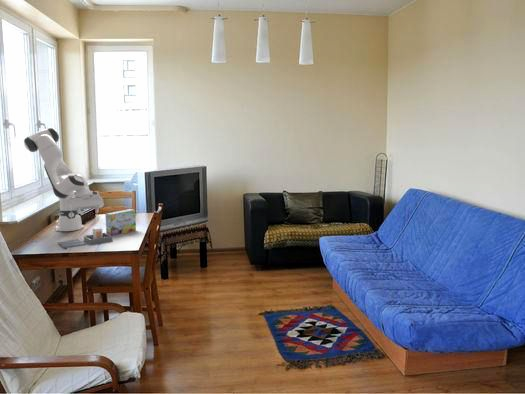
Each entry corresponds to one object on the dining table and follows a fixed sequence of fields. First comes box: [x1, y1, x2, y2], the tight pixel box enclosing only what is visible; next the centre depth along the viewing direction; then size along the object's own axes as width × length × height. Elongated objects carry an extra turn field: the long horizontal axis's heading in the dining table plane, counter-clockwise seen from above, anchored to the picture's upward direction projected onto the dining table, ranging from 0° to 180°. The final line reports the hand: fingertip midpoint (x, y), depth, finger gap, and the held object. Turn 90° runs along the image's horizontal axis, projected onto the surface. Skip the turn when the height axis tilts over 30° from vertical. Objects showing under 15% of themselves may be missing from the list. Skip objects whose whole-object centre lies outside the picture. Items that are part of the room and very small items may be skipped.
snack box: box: [105, 208, 137, 237], centre depth 305 cm, size 21×6×15 cm, turn 148°
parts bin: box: [83, 232, 113, 246], centre depth 283 cm, size 13×13×4 cm
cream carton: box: [92, 227, 103, 239], centre depth 283 cm, size 5×4×8 cm
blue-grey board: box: [57, 238, 86, 250], centre depth 277 cm, size 16×12×1 cm
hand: (90, 213), depth 291 cm, fingers open, 8 cm apart
